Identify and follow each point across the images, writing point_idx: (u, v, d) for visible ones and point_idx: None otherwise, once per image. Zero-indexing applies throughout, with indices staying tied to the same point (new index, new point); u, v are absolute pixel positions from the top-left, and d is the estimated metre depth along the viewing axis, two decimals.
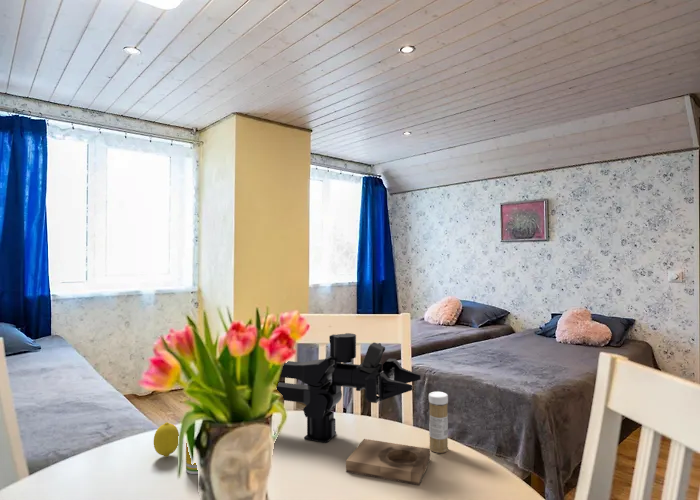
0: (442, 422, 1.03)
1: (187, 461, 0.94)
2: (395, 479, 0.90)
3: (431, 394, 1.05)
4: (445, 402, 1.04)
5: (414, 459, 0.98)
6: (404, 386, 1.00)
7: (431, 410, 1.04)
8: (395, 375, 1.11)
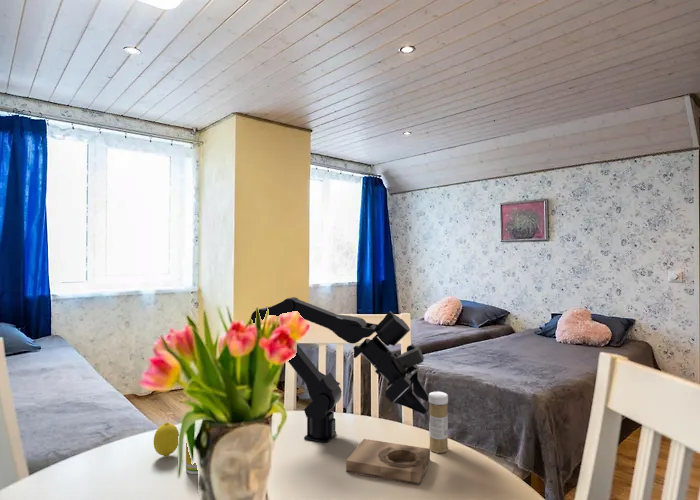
0: (442, 422, 1.03)
1: (187, 461, 0.94)
2: (395, 479, 0.90)
3: (431, 394, 1.05)
4: (445, 402, 1.04)
5: (414, 459, 0.98)
6: (420, 407, 1.01)
7: (431, 410, 1.04)
8: (409, 380, 1.12)
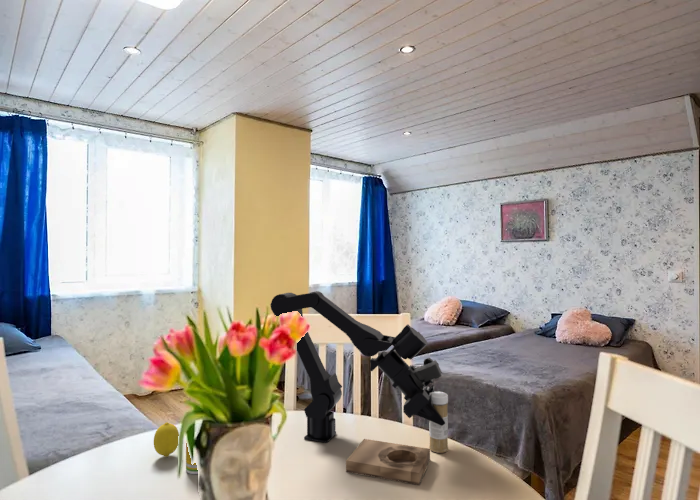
0: None
1: (187, 461, 0.94)
2: (395, 479, 0.90)
3: None
4: (445, 402, 1.04)
5: (414, 459, 0.98)
6: (439, 418, 1.02)
7: None
8: None
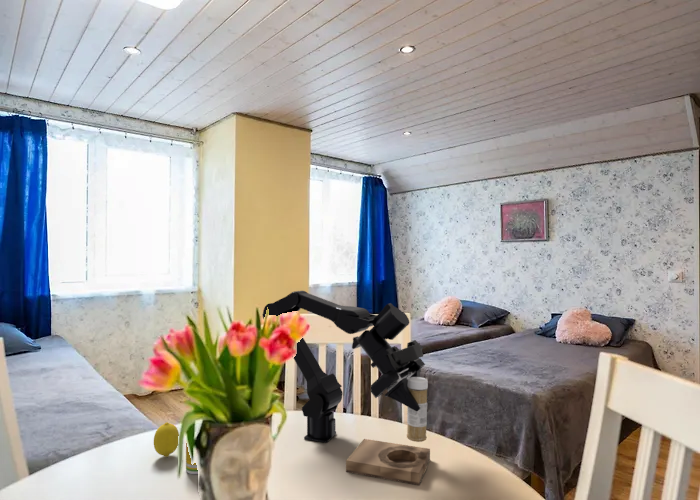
0: None
1: (187, 461, 0.94)
2: (395, 479, 0.90)
3: (410, 378, 1.00)
4: (422, 387, 0.97)
5: (414, 459, 0.98)
6: (413, 403, 0.96)
7: None
8: None
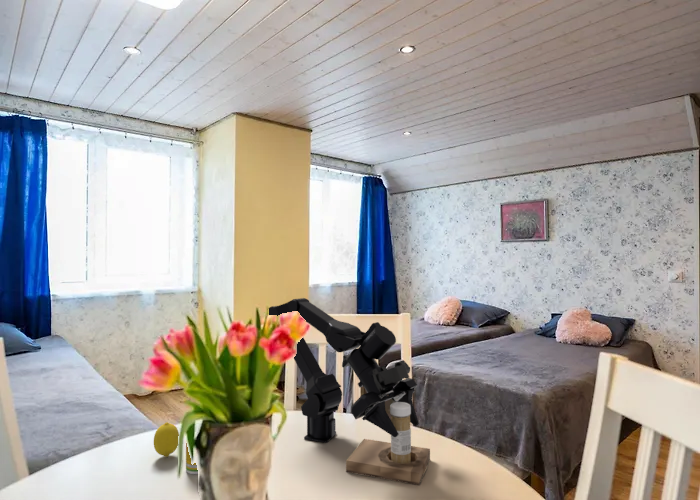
0: (399, 436, 0.94)
1: (187, 461, 0.94)
2: (395, 479, 0.90)
3: (392, 404, 0.97)
4: (403, 414, 0.94)
5: (414, 459, 0.98)
6: (391, 429, 0.93)
7: None
8: (401, 400, 1.02)
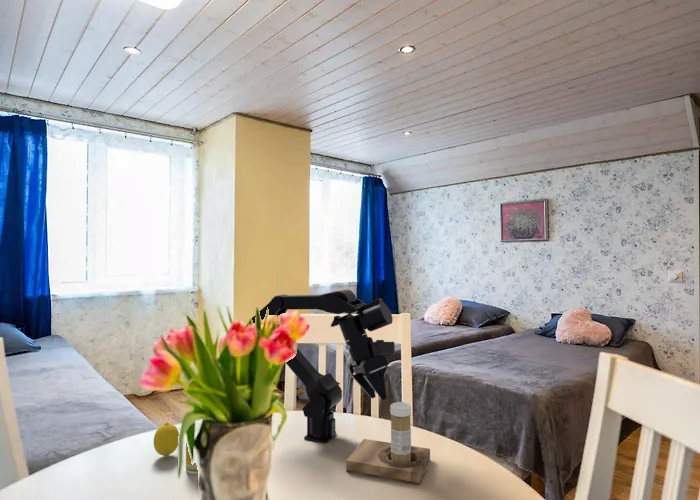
0: (400, 436, 0.94)
1: (187, 461, 0.94)
2: (395, 479, 0.90)
3: (393, 404, 0.97)
4: (403, 415, 0.94)
5: (414, 459, 0.98)
6: (383, 391, 1.02)
7: (391, 421, 0.96)
8: (363, 373, 1.12)
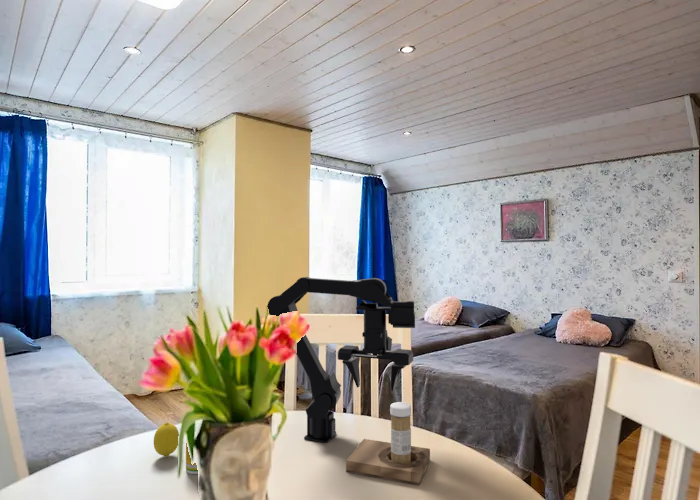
0: (400, 436, 0.94)
1: (187, 461, 0.94)
2: (395, 479, 0.90)
3: (393, 404, 0.97)
4: (403, 415, 0.94)
5: (414, 459, 0.98)
6: (395, 383, 1.09)
7: (391, 421, 0.96)
8: (356, 361, 1.13)
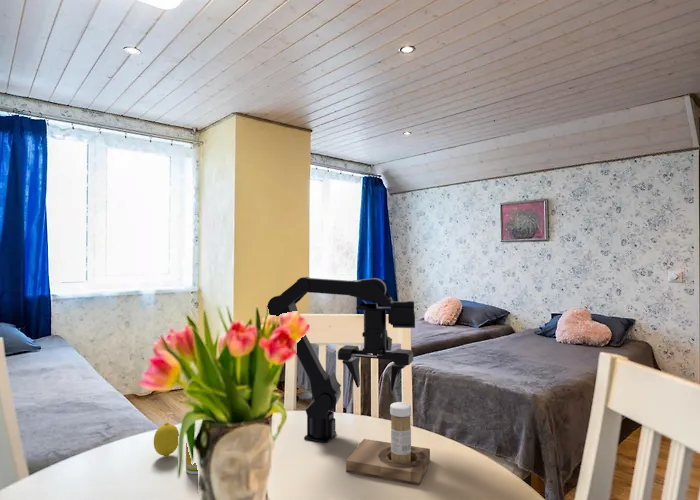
0: (400, 436, 0.94)
1: (187, 461, 0.94)
2: (395, 479, 0.90)
3: (393, 404, 0.97)
4: (403, 415, 0.94)
5: (414, 459, 0.98)
6: (395, 383, 1.09)
7: (391, 421, 0.96)
8: (356, 361, 1.13)
